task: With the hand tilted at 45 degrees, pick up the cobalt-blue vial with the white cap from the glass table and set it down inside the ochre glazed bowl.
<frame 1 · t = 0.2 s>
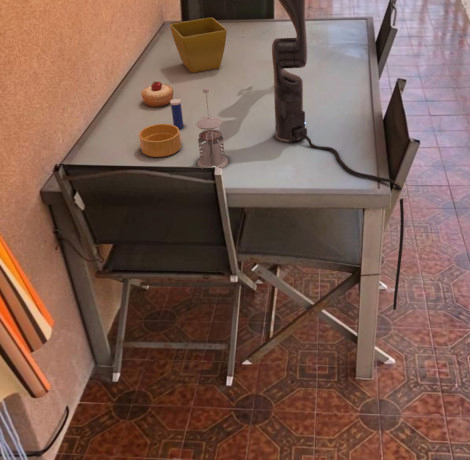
vial: (178, 127, 231), on the table
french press: (212, 164, 208), on the table
pastry: (158, 102, 250), on the table
bowl: (161, 148, 218), on the table
flower pot: (201, 66, 279), on the table
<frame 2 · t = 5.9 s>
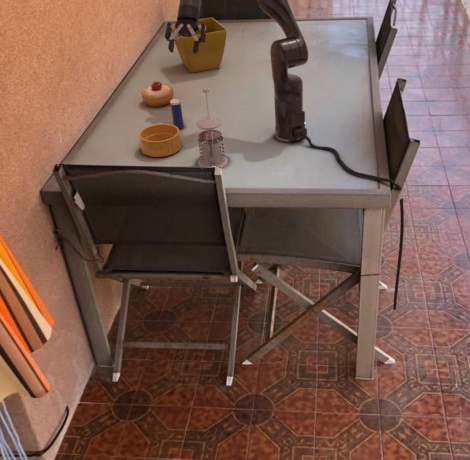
hand: (182, 52, 228), 23 cm above the table, tool tilted 45°, fingers open, 8 cm apart
nothing on the table moved.
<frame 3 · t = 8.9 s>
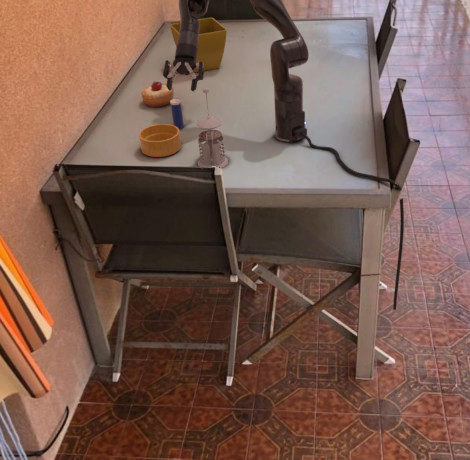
hand: (180, 90, 230), 11 cm above the table, tool tilted 45°, fingers open, 8 cm apart
nothing on the table moved.
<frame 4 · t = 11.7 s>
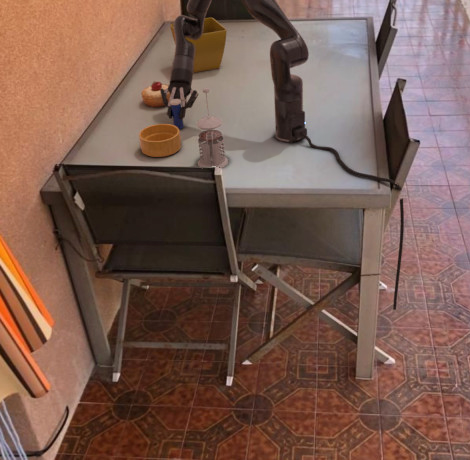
hand: (175, 118, 227), 4 cm above the table, tool tilted 45°, fingers closed on vial, 3 cm apart
vial: (178, 127, 231), on the table, touching gripper
everything else where it was.
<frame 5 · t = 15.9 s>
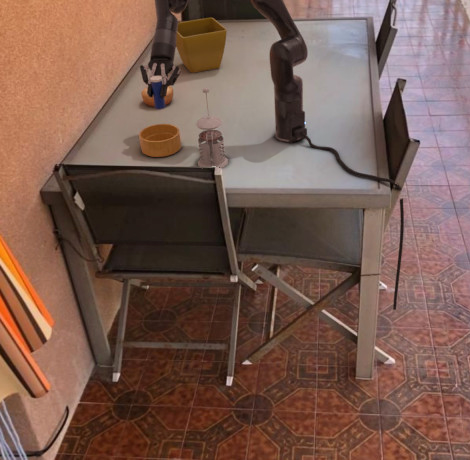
hand: (156, 96, 209), 18 cm above the table, tool tilted 45°, fingers closed on vial, 3 cm apart
vial: (160, 107, 213), point 13 cm above the table, touching gripper
everything else where it was.
when the fingers open (5 cm above the table, at t = 20.1 s): vial stays where it is, resting on bowl.
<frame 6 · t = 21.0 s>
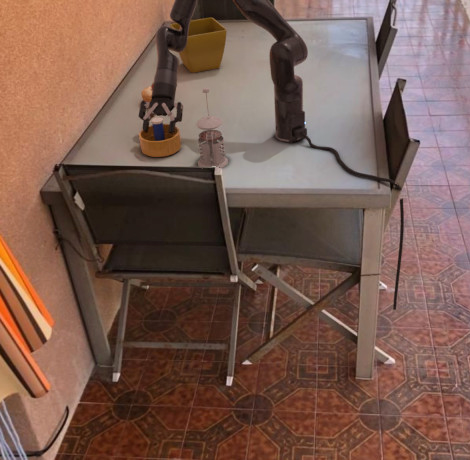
hand: (158, 132, 213), 7 cm above the table, tool tilted 45°, fingers open, 8 cm apart
vial: (161, 147, 218), point 1 cm above the table, touching bowl
everything else where it was.
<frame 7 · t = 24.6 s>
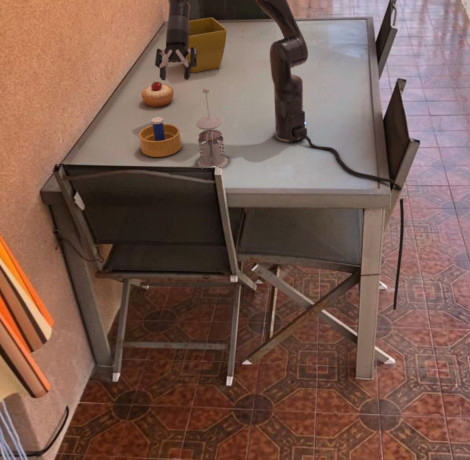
hand: (174, 79, 219), 18 cm above the table, tool tilted 35°, fingers open, 8 cm apart
nothing on the table moved.
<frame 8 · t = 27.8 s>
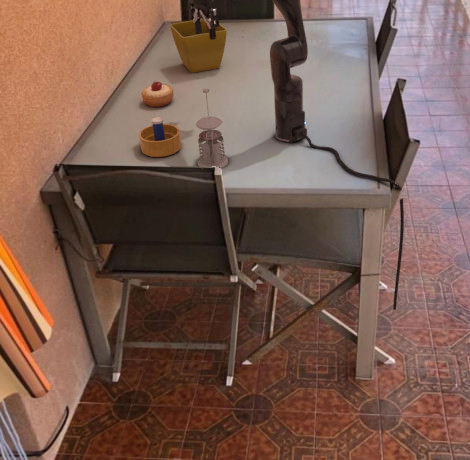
hand: (205, 36, 224), 28 cm above the table, tool pointing down, fingers open, 8 cm apart
nothing on the table moved.
at the end: vial inside the target area in the bowl (0.2 cm from its centre), point 0.6 cm above the bowl's base; the gripper is holding nothing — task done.
